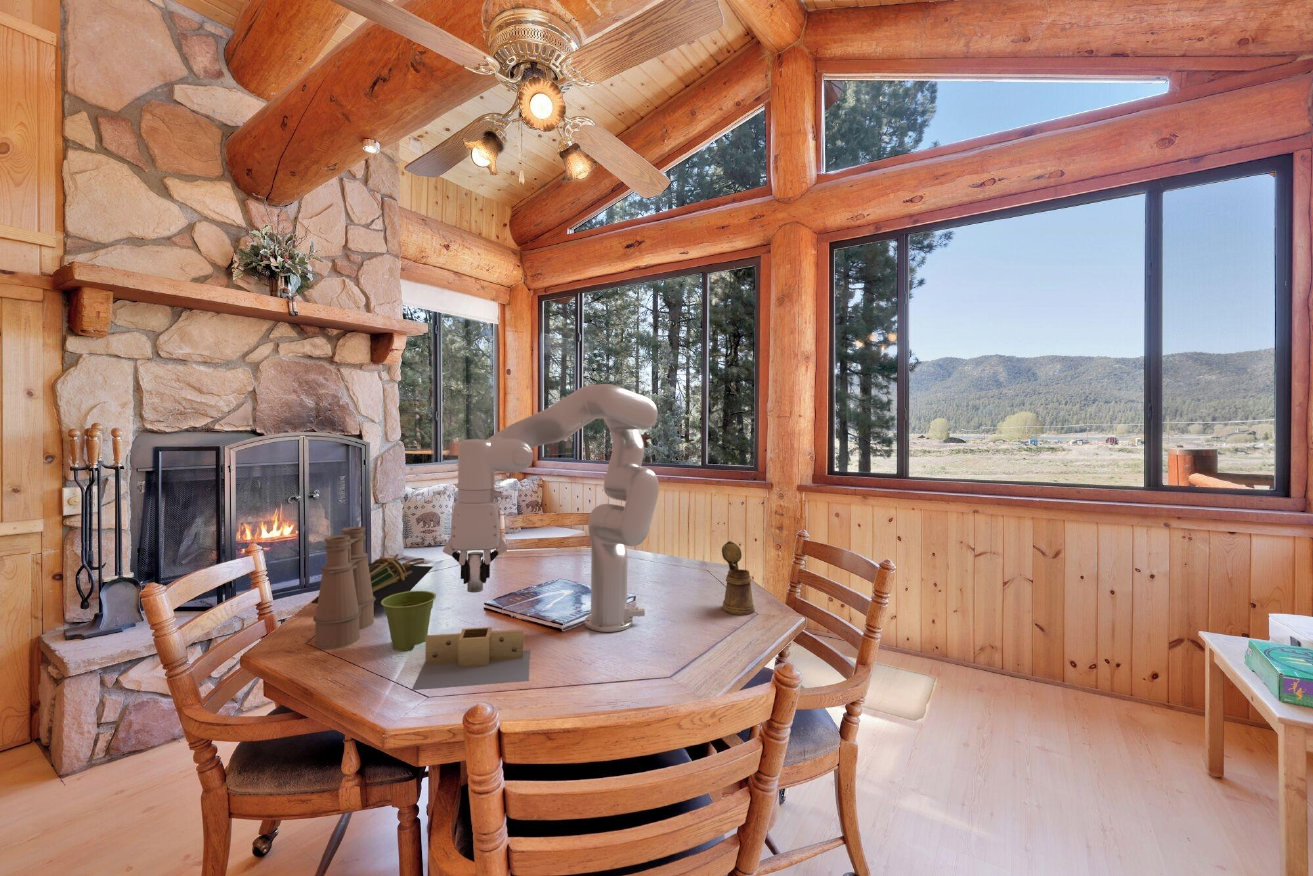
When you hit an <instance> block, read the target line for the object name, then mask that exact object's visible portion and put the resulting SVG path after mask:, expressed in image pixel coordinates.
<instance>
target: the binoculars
mask: <svg viewBox="0 0 1313 876" xmlns="http://www.w3.org/2000/svg"><path fill="white" fill-rule="evenodd" d="M341 531H342V533H343V534H338V535H329V536H326V537H324V542H325V543H326V545H325V546H324V547H323V549H324V551H326V564H325V565H323V566H322V567H321V570H320V571H321V579H320V585H319V592H318V596H319V598H318V603H317V605H316V612H315V615H314V616H313V619H312V621H314V623H315V641H314V645H315V648H318V649H322V650H332V649H333V650H334V649H335V650H336V649H339V648H343V647H344V648H345V647H348V646H351V645H353V644H355V643H357V642H358V641H359V640H360V630H365V629H367V628H369V627H372V626H373V624H375V622H374V621H375V618H374V613H375V612H374V611H375V610H374V607H375V606H374V601H375V599H376V598H375V597H374V596H373V591H372V585H371V579H370V572H369V566H368V563H369V561H368V557H369V554H368V553H367V552H364V540H366V537H367V535H365V534H364V532H365V531H366V527H365V526H350V527H349V526H348V527H343V528H342V529H341Z"/></svg>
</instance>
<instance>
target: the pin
mask: <svg viewBox="0 0 1313 876" xmlns="http://www.w3.org/2000/svg"><path fill="white" fill-rule="evenodd" d="M467 560H468V582H467V583H466V585H467V587H466V588H467V589H466V590H467V591H466V592H468V593H480V592H483V591H484V583H482V565H483V562H484V551H483V552H482V551H470V552H467Z"/></svg>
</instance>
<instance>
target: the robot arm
mask: <svg viewBox="0 0 1313 876" xmlns="http://www.w3.org/2000/svg"><path fill="white" fill-rule="evenodd" d="M658 413H659V412H658V408H657V405H656V404H655V402H654V401H653V400H652V399H651V398H650V397H648V396H645V395H642V394H639V393H637V392H634V391H632V390H629V389H626V388H624V387H621V386H618V385H614V384H611V383H602V384H588V385H583V386H582V387H579V388H578V389H575V390H574V391H573V392H571V393H569V394H568V395H567V396H565V397H564V398H562V399H560V400H559V401H557V402H555V403H554V404H552V405H551V406H549V407H547V408H545V409H543V410H542V411H538V412H536V413H534V414H532V415H530V416H528V417H525V418H523V419H520V420H518V421H516V422H514V423H512V424H510V425H507V426H506V427H504V428H502V429H500V430H499V431H497V433H494V434H493V435H491V436H490V437H488V438H487V439H474V438H473V439H463V440H461V441H460V442H459V444H458V448H457V452H458V453H457V455H458V456H457V457H458V459H457V502H455V503H454V505H453V509H452V515H451V523H450V537H449V538H448V541H447V543H446V544H445V546H444V547H443V549H442V552H443V553H444V554H446V555H448V556H450V557H452V558H453V559H454V561H456V562H457V563H458V564H459V565H460V580H463V585H467V582H468V553H469V552H468V551H470V552H473V551H483V565H482V583H483V584H486V582H487V580H488V579H490V575H491V563H492V561H494V560H495V559H496V558H497V556H499V555H501V554H504V553H505V552H507V550H508V546H507V544H506V542H505V539H504V538H503V537H502V535H501V534H502V531H501V529H502V527H501V526H502V525H501V513H500V506H499V502H498V501H496V499H498V498H502V491H498V490H497V489H496V488H495V486H496V484H495V481H496V480H495V479H496V477H495V474H496V472H500V473H501V472H502V473H503V472H504V473H514V474H515V473H516V474H517V473H520V472H523V471H526V470H527V469H528V468H529V467H530V466H531V465H532V463H533V461H534V451H533V448H537V447H539V446H544V445H550V444H554V443H557V442H558V443H559V442H562V441H564V440H567V439H568V438H569V437H571V436H572V435H574V434H575V433H577V432H578V431H580V430H581V429H582V428H583V427H585V426H586V425H588V424H590V423H591V422H593V421H594V420H595V421H596V419H603V421H604V424H605V425H606V426H607V428H608V429H609V432H610V434H611V437H612V441H613V442H612V444H613V445H612V449H611V454H610V458H609V462H608V466H607V470H606V474H605V477H604V482H603V491H604V493H605V494H606V496H607V497H609V499H610V498H611V499H612V500H616V501H621V502H624V503H625V504H624V505H618V504H612V503H602V504H599V505H597V506H595V507H594V508H593V509H592V510H591V512H590V513H589V517H588V520H587V527H588V528H587V529H588V535H589V541H590V550H591V551H590V552H591V554H590V555H591V558H590V560H591V563H590V564H591V567H590V568H591V570H590V571H591V573H590V578H591V579H590V582H591V583H590V584H591V585H590V614H589V615H587V616H586V617H585V618H584V626H585V627H586V628H587V629H590V630H593V631H596V632H602V633H614V632H620V631H623V630H626V629H628V628H630V627H631V626H632V625H633V621H634V620H633V618H634V617H639V618H641V617H645V616H646V615H645V614H646V611H645V608H639V607H638V606H633V607H630V606H629V604H628V551H627V548H626V546H627V547H637V546H640V545H641V544H643V543H644V541H645V540H646V538H647V537H648V534H649V532H650V529H651V526H652V522H653V518H654V513H655V509H656V505H657V501H658V497H659V492H660V484H659V483H660V482H659V479H658V476H657V474H656V473H655V471H653V470H652V469H651V468H649V467H645V466H642V465H643V459H644V455H645V443H644V439H643V437H642V434H641V432H640V431H645V430H649V429H650V428H652V427H654V425H655V424H656V422H657V419H658V416H659V414H658ZM491 551H492V552H491Z"/></svg>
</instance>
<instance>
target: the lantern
mask: <svg viewBox="0 0 1313 876" xmlns="http://www.w3.org/2000/svg"><path fill="white" fill-rule="evenodd" d="M399 555H400V554H399V553H397V554H396V555H394V556H393V557H388V556H387V557H383V556H382V555H380V556H379V558H377V559H375V560H374V561H373V562H372V563H369V562H368V566H369V572H370V579H371V585H372V591H373V596H374V597H375V598H376V599H375V601H374V607H383V608H384V606H382V605H381V601H382V600H383V599H384V598H386V597H388V596H391V595H394V594H398V593H402V592H408V591H413V588H415V587H416V586H417V584H419V583H420V581H421V580H422V579H423V578H424V577H426V575H427V574H428V573H429V572H430V571H431V570H432V569H433V568H434V566H429V565H421V564H424V563H425V560H426V559H425V558H424V557H417V558H414V559H410V560H408V561H405V562H400V561H399V559H398V557H399ZM318 598H319V595H318V596H316V598H315V599H313V600H312V601H310V604H318Z"/></svg>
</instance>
